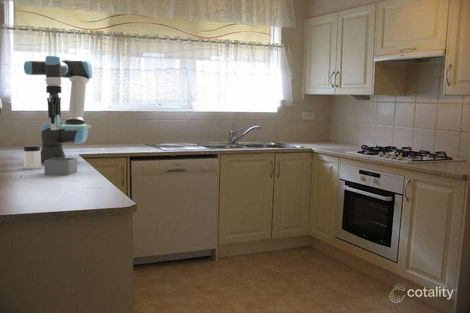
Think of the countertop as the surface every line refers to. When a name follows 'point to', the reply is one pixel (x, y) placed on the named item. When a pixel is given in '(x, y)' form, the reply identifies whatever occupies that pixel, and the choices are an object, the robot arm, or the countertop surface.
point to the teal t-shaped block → (69, 127)
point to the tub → (60, 166)
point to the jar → (32, 157)
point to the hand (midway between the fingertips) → (55, 129)
